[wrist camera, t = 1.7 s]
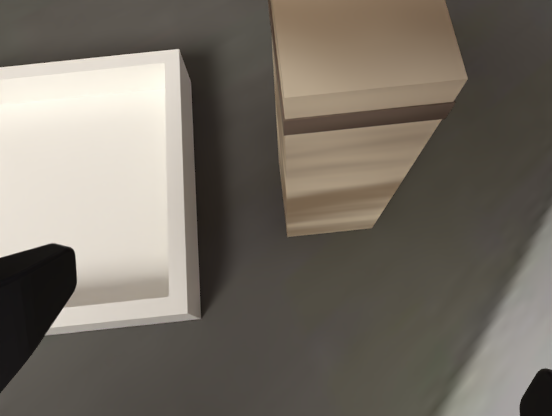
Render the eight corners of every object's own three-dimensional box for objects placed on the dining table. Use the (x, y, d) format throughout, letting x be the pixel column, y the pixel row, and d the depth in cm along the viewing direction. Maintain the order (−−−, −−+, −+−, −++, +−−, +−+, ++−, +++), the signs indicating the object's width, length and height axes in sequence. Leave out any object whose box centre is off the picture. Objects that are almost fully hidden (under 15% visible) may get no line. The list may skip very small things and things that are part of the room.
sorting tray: (201, 319, 22) (187, 313, 19) (-79, 348, 21) (-135, 347, 19) (191, 82, 26) (179, 48, 23) (-40, 106, 26) (-80, 75, 23)
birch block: (372, 228, 23) (470, 80, 10) (286, 237, 23) (282, 99, 10) (358, 150, 24) (429, -59, 12) (277, 159, 24) (265, -42, 12)
